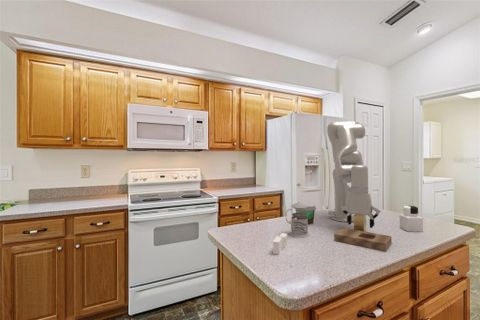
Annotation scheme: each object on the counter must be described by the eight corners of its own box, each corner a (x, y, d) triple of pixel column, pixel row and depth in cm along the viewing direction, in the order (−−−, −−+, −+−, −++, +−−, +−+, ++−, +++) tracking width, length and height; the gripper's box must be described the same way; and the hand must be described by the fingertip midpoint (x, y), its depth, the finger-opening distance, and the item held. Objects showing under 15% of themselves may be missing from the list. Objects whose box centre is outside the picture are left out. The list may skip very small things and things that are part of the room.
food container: (293, 224, 133) (293, 206, 133) (294, 221, 139) (294, 204, 139) (316, 225, 130) (316, 207, 130) (316, 222, 135) (316, 205, 135)
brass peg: (353, 233, 115) (353, 215, 115) (356, 231, 118) (356, 213, 118) (364, 235, 112) (363, 216, 112) (366, 233, 115) (366, 214, 115)
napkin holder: (276, 259, 88) (276, 244, 88) (259, 249, 98) (258, 235, 98) (305, 251, 96) (305, 236, 96) (286, 242, 105) (286, 229, 105)
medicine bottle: (413, 227, 123) (413, 204, 123) (423, 232, 116) (422, 207, 115) (399, 227, 123) (399, 204, 123) (407, 231, 116) (407, 207, 116)
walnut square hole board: (334, 240, 106) (334, 233, 106) (343, 233, 114) (343, 227, 114) (385, 251, 92) (385, 243, 92) (391, 243, 101) (391, 236, 101)
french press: (311, 238, 109) (310, 184, 109) (285, 236, 112) (284, 184, 112) (309, 231, 119) (308, 182, 119) (285, 230, 121) (285, 182, 121)
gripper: (338, 190, 118) (339, 224, 118) (378, 192, 106) (378, 230, 106) (343, 188, 123) (344, 221, 123) (381, 191, 112) (382, 227, 112)
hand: (360, 225), depth 115 cm, fingers open, 9 cm apart
